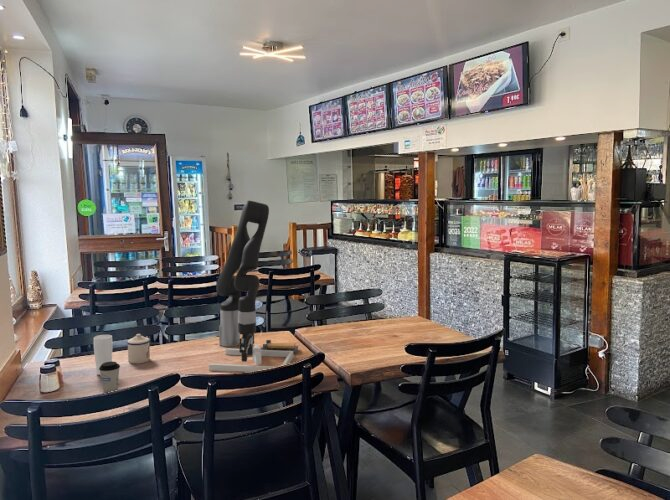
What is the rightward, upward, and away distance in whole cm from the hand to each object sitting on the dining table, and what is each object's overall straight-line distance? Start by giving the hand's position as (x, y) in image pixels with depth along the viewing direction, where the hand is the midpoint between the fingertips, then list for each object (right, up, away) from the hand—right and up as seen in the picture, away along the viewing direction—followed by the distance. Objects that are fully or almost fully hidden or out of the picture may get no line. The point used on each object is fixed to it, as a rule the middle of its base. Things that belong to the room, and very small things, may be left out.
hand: (247, 358), depth 207 cm
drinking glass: (-54, -3, -14) cm, 56 cm away
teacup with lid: (-48, -2, +3) cm, 48 cm away
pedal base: (+12, -1, +17) cm, 21 cm away
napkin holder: (+4, -2, +5) cm, 7 cm away
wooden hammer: (+12, +1, +17) cm, 21 cm away
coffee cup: (-44, -5, -31) cm, 54 cm away
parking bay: (+3, -2, 0) cm, 3 cm away
